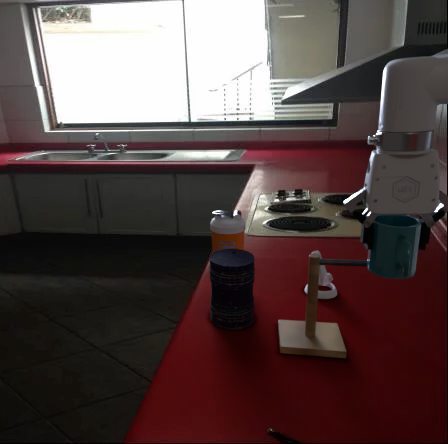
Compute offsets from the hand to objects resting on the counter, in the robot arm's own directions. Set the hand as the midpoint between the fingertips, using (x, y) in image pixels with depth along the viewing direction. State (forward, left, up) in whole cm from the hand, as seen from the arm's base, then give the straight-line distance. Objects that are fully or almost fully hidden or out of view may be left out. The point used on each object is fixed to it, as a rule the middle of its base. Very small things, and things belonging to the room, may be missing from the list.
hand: (393, 246), depth 70 cm
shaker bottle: (+30, -29, -23) cm, 48 cm away
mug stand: (+8, -5, -23) cm, 25 cm away
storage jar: (+28, -12, -23) cm, 38 cm away
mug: (0, +2, -4) cm, 5 cm away
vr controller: (+7, -27, -23) cm, 36 cm away
